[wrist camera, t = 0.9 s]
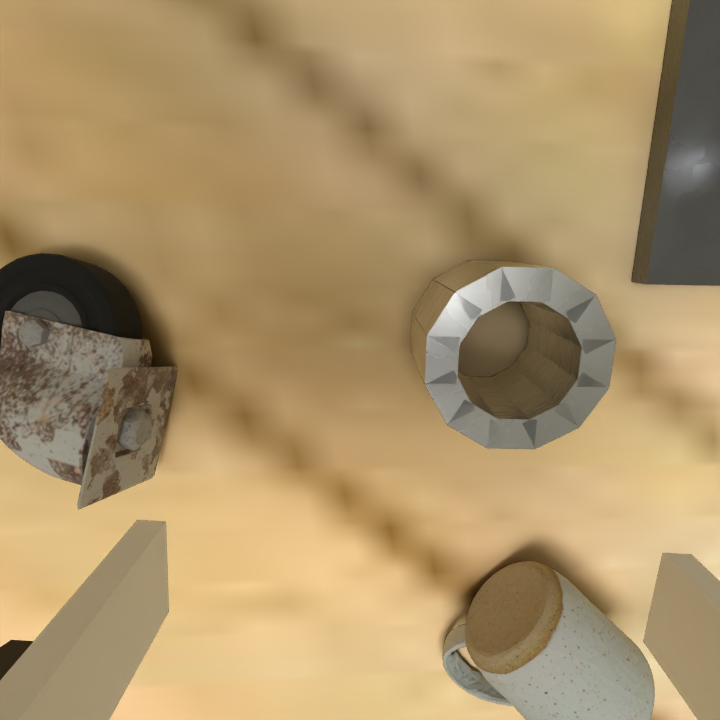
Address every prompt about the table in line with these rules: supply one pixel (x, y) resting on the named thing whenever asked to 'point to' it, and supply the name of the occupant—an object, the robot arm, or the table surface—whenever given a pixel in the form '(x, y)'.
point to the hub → (532, 368)
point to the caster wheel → (78, 376)
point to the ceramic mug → (548, 651)
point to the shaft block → (684, 156)
